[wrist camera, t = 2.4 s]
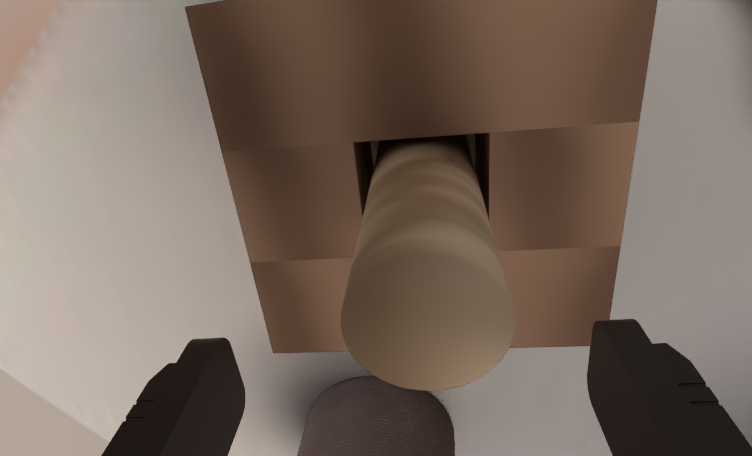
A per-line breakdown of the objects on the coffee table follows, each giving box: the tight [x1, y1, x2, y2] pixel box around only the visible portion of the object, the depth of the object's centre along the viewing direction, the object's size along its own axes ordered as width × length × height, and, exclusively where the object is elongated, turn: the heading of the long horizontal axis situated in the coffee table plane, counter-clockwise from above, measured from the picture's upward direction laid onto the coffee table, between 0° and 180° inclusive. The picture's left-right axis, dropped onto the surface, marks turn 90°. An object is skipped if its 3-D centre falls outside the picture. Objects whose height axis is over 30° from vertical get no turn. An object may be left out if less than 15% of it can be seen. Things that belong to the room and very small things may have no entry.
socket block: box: [185, 0, 657, 353], centre depth 20 cm, size 14×14×6 cm
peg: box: [340, 134, 515, 391], centre depth 17 cm, size 4×4×12 cm
